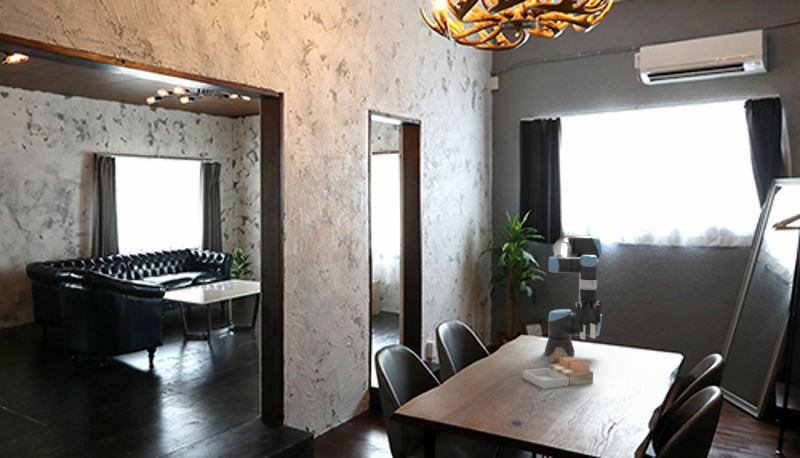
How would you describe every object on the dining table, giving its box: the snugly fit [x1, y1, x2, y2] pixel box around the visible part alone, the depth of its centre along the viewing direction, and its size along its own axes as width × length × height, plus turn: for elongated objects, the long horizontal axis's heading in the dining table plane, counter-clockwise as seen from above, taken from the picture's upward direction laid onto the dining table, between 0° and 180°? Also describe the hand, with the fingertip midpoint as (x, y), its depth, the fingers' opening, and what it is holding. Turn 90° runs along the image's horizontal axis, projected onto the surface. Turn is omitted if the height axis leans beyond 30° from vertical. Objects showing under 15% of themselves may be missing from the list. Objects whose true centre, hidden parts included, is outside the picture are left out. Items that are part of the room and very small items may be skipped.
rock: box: [548, 347, 569, 366], centre depth 275 cm, size 11×12×10 cm
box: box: [522, 367, 570, 390], centre depth 255 cm, size 16×13×4 cm
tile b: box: [570, 360, 591, 372], centre depth 256 cm, size 6×6×3 cm
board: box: [548, 363, 594, 386], centre depth 260 cm, size 16×12×5 cm
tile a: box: [560, 356, 580, 368], centre depth 264 cm, size 6×6×3 cm
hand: (587, 338), depth 267 cm, fingers open, 5 cm apart
